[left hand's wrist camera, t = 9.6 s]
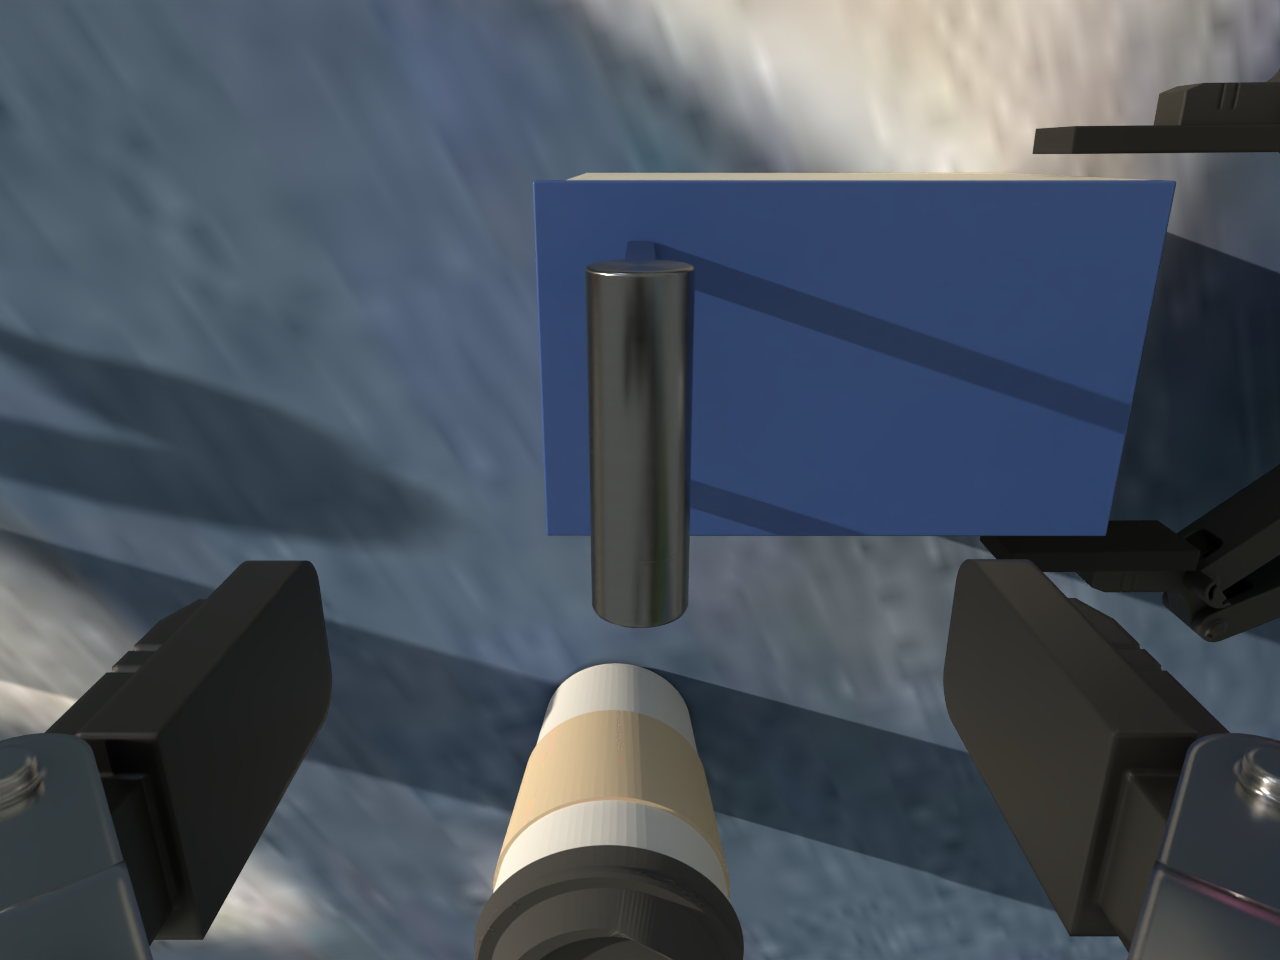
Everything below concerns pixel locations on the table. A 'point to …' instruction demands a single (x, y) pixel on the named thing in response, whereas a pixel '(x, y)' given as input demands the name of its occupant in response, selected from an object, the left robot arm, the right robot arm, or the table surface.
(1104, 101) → the table surface
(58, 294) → the table surface
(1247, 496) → the right robot arm
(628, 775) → the coffee cup
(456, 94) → the table surface
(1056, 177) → the chest
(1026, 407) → the lid
